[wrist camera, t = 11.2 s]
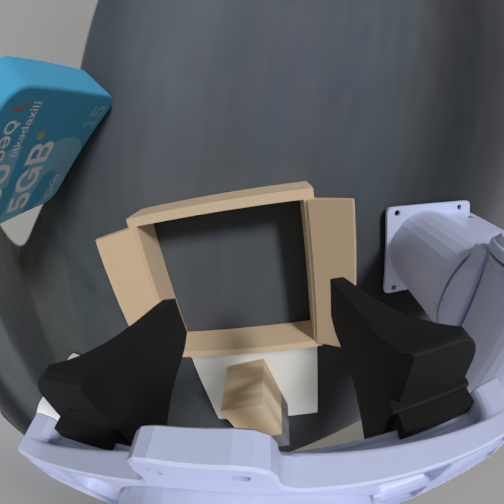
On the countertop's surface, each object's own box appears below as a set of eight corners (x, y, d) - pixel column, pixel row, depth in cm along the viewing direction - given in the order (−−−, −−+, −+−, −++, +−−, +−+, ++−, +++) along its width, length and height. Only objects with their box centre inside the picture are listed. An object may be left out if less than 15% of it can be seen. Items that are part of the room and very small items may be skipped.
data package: (53, 200, 22) (-37, 246, 10) (31, 172, 20) (-58, 205, 9) (119, 97, 18) (11, 84, 7) (91, 71, 17) (-11, 52, 6)
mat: (316, 338, 26) (316, 341, 26) (317, 409, 31) (317, 412, 30) (190, 349, 27) (189, 352, 27) (219, 416, 32) (219, 418, 32)
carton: (336, 177, 20) (355, 189, 16) (342, 320, 25) (353, 354, 21) (119, 214, 22) (89, 232, 17) (162, 337, 27) (148, 369, 23)
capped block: (263, 358, 27) (262, 404, 21) (287, 404, 30) (289, 445, 24) (227, 366, 27) (220, 410, 22) (256, 410, 31) (254, 449, 25)
